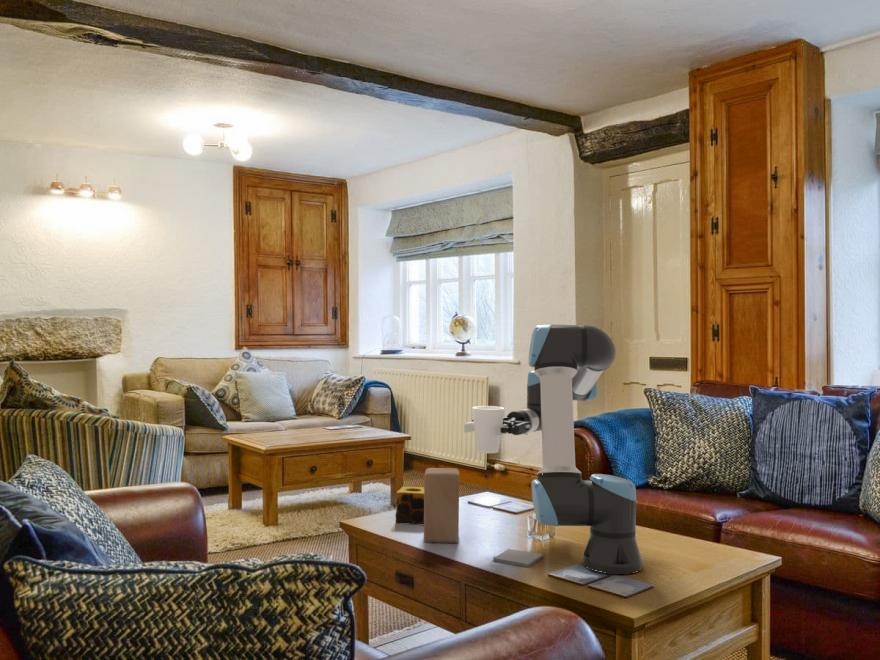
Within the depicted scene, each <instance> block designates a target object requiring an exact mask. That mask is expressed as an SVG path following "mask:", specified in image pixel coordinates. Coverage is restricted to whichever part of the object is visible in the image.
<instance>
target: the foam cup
mask: <svg viewBox="0 0 880 660" xmlns="http://www.w3.org/2000/svg"><path fill="white" fill-rule="evenodd" d="M471 413H472V414H471V416H472V418H473V419H472V420H474V429H475V431H474V436H475V445H476V452H477V453H480V454H498V453H499V451H500V445H501V438H502V435H497V436H492V426H498V425H502V424H503V417H505V408H504V406H497V405H496V406H495V405H478V406H477V405H476V406H472V408H471Z"/></svg>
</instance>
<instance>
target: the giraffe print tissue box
mask: <svg viewBox="0 0 880 660" xmlns="http://www.w3.org/2000/svg"><path fill="white" fill-rule="evenodd" d="M395 494H396V502H395V504H396V509H395V510H396V511H395V523H396V524H399V523H409V524H408V525H419V524H424V486H402V487H401V488H400V489H398V490H397V491H396V493H395Z"/></svg>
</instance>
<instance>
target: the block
mask: <svg viewBox="0 0 880 660" xmlns="http://www.w3.org/2000/svg"><path fill="white" fill-rule="evenodd" d="M423 483H424V484H423V485H424V486H423V487H424V525H423V540H424V542H425V543H428V542H441V544H446V543H447V544H456V543H458V542H459V531H460V529H459V527H460V526H459V523H460V521H459V520H460V512H459V511H460V470H459V469H458V468H456V467H454V468H453V467H451V468H450V467H447V468H446V467H429V468H428V467H427V468H426V469H425V473H424V482H423Z"/></svg>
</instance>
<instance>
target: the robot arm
mask: <svg viewBox="0 0 880 660" xmlns="http://www.w3.org/2000/svg"><path fill="white" fill-rule="evenodd" d="M528 351H529V352H528V366H529V367H531V368H534V370H531V371H529V372H528V373H527V383H526V394H527V395H526V401H527V402H526V408H525V409H519V410H513V411H511V412H509V413H508V414H507V415H506V416H504V417H503V424H502V425H498V426H492V436H497V435H501V436H502V435H507V434H512V435H514V436H520V435H526V436H527V435H528V434H529V433H533V432H535V433H536V432H541V446H542V447H541V448H542V449H541V451H542V453H541V454H542V457H541V458H542V467H541V468H540V470H539V471H538V472H537V474H536V478H535V479H533V480H532V481H531V499H532V504H533V510H534V514H535V518H536V519H537V522H538V523H539V524H541V525H543V526H554V527H559V526H560V527H569V526H570V527H589V538H588V540H587V543H586V545H585V549H584V551H583V553H582V554H583V555H582V565H583V567H584V568H586V567H588V568H590V569H593V570H597V571H602V572H606V573H609V574H608V575H615V574H624V575H628V574H627V573H633V572H636V571H639V570H640V569H641V568H642V569H643V558H642V554H641V552H640V547H639V546H638V542H637V537H636V529H637V528H636V527H637V525H636V524H637V523H636V519H637V501H638V499H637V491H636V490H637V489H636V485H635V484H634V483H633V482H632V481H631V480H629V479H626V478H623V477H620V476H616V475H611V474H605V473H604V474H603V473H593V474H591V475H590V477H589V480H583V478H582V476H583V475H582V472H581V471H580V470H579V469H578V468H577V467H576V450H575V448H576V447H575V426H574V419H575V418H574V401H577V402H578V401H582V402H586V401H594V400H595V399H596V398H597V394H598V385H597V384H598V383H597V381H598V379H600V376H601V375H602V373H603V372H604V371H606V370H608V369H609V368H610V367H611V366H612V364H613V363H614V361H615V359H616V353H617V351H616V345H615V343H614V341H613V339H612V338H611V337H610V335H608V333H607V332H606V331H604V330H602V329H601V328H599V327H597V326H594V325H589V324H551V323H550V324H539V325H536V326H535V327H534V328H533V330H532V333H531V337H530V344H529V350H528ZM463 426H464V427H463V431H464V432H463V433H470V432H475V429H474V420H473V419H472V420H471V421H469V422H464V423H463ZM542 473H543V475H542ZM588 568H587V569H588ZM590 569H589V570H590ZM639 572H640V571H639ZM633 574H634V573H633Z"/></svg>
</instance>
